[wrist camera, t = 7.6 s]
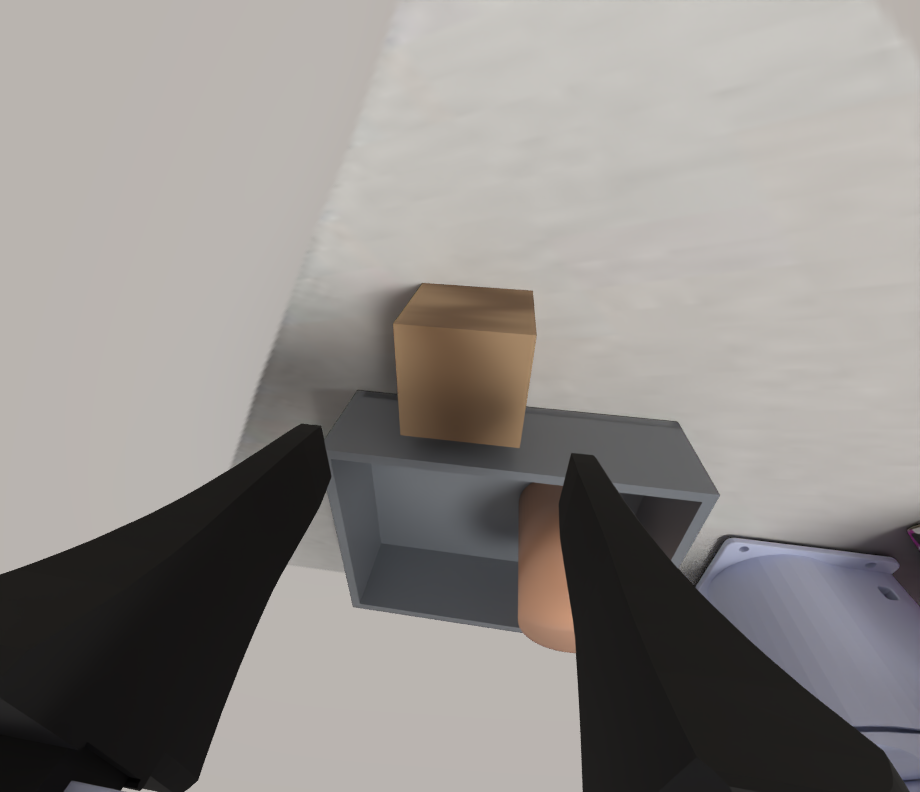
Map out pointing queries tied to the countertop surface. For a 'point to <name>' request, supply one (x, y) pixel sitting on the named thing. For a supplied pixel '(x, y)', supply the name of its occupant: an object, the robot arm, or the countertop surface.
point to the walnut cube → (465, 363)
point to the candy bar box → (915, 535)
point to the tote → (487, 503)
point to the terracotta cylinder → (543, 570)
